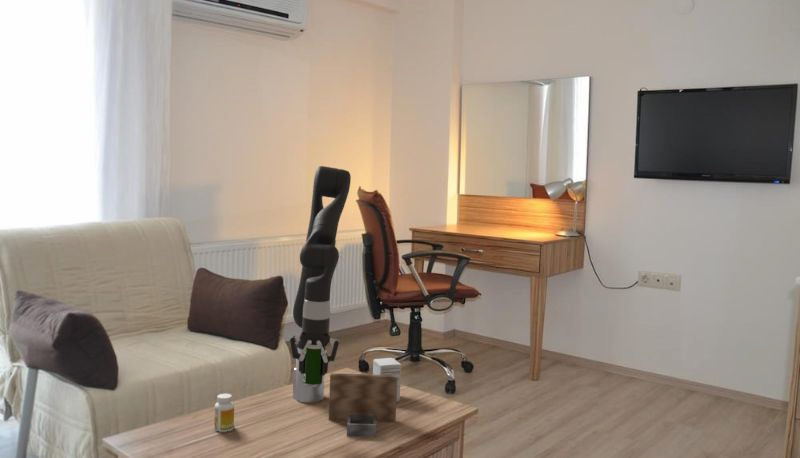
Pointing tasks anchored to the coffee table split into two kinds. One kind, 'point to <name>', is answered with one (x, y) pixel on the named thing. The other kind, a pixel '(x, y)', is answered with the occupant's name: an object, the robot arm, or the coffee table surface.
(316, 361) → the beer can
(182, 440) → the coffee table surface
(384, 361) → the supplement box
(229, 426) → the supplement bottle
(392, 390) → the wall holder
